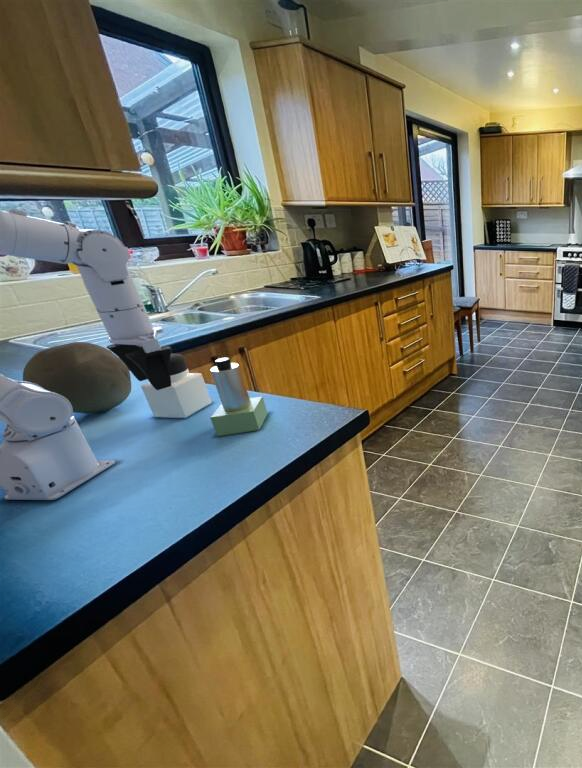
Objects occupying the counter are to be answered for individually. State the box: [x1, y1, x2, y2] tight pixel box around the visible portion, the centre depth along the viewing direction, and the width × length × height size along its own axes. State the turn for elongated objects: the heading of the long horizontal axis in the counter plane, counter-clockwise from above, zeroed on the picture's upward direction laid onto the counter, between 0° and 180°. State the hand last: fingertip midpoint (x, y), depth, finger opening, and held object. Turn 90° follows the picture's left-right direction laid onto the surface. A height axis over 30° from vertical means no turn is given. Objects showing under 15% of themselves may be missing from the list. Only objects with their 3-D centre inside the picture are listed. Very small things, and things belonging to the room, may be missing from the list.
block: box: [210, 396, 269, 437], centre depth 77 cm, size 7×7×4 cm
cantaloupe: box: [22, 341, 132, 414], centre depth 81 cm, size 14×14×15 cm
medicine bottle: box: [140, 352, 212, 419], centre depth 82 cm, size 7×7×12 cm
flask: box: [209, 357, 251, 411], centre depth 74 cm, size 4×4×10 cm
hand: (154, 383), depth 71 cm, fingers open, 7 cm apart
